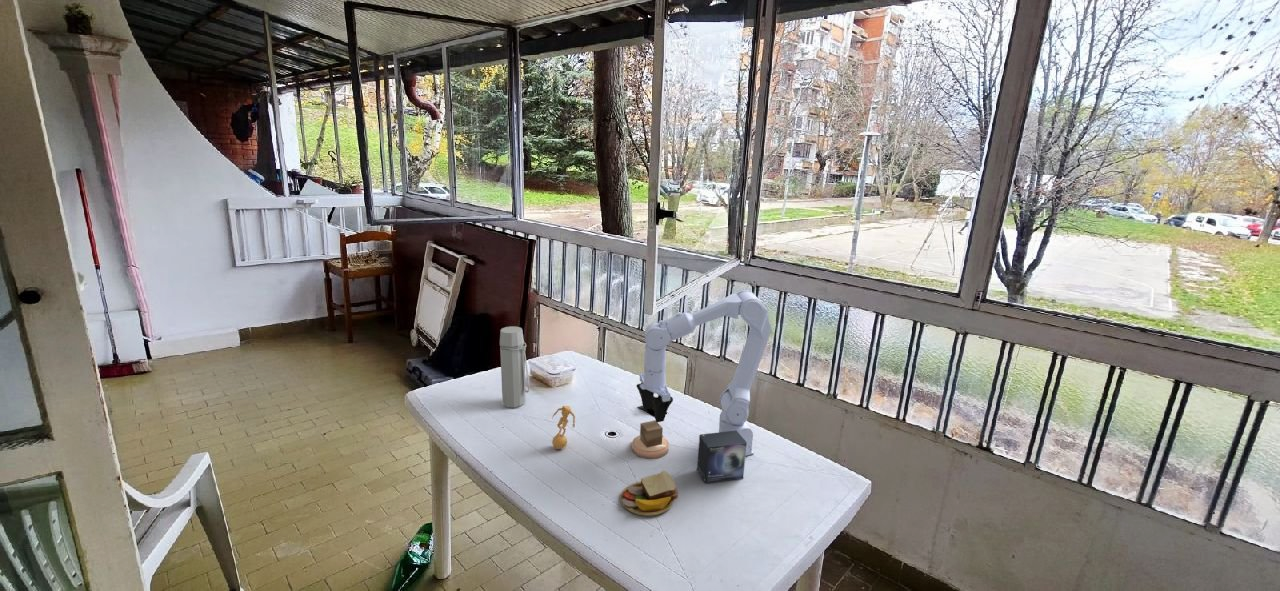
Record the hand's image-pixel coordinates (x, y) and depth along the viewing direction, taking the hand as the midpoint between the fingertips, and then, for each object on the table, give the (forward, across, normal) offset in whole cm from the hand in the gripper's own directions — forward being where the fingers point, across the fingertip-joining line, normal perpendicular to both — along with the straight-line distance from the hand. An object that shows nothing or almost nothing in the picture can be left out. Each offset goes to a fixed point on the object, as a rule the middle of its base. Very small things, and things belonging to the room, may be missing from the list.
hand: (653, 414), depth 147 cm
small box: (+10, +18, +10) cm, 23 cm away
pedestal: (+10, 0, -1) cm, 10 cm away
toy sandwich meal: (+10, +20, -11) cm, 25 cm away
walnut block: (+8, 0, -1) cm, 8 cm away
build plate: (+11, -20, +10) cm, 25 cm away
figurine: (+10, -10, -23) cm, 27 cm away
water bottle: (+10, -40, -29) cm, 50 cm away
